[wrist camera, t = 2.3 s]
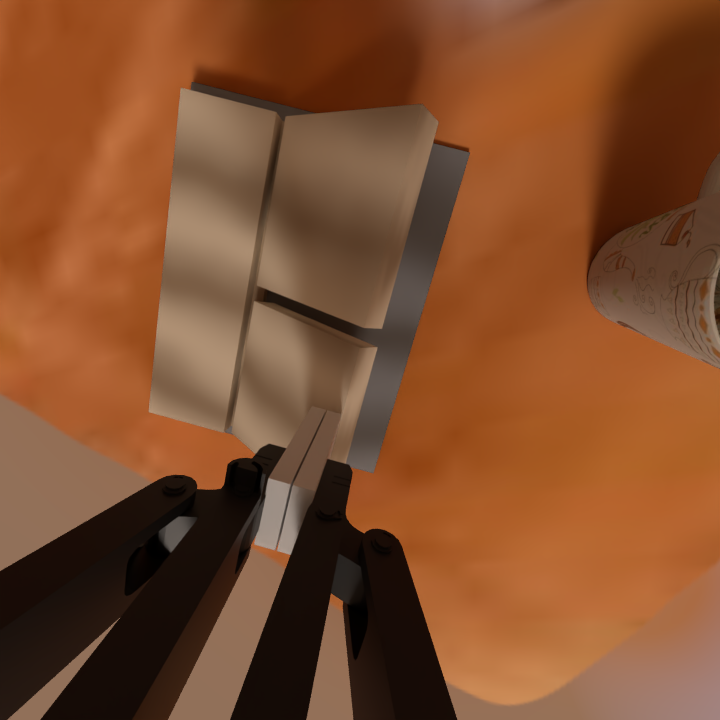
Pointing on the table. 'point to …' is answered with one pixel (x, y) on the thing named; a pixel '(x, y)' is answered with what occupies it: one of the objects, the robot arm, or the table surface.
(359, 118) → the plank
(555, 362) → the table surface
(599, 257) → the mug
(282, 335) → the plank
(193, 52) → the table surface
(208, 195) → the laid row
